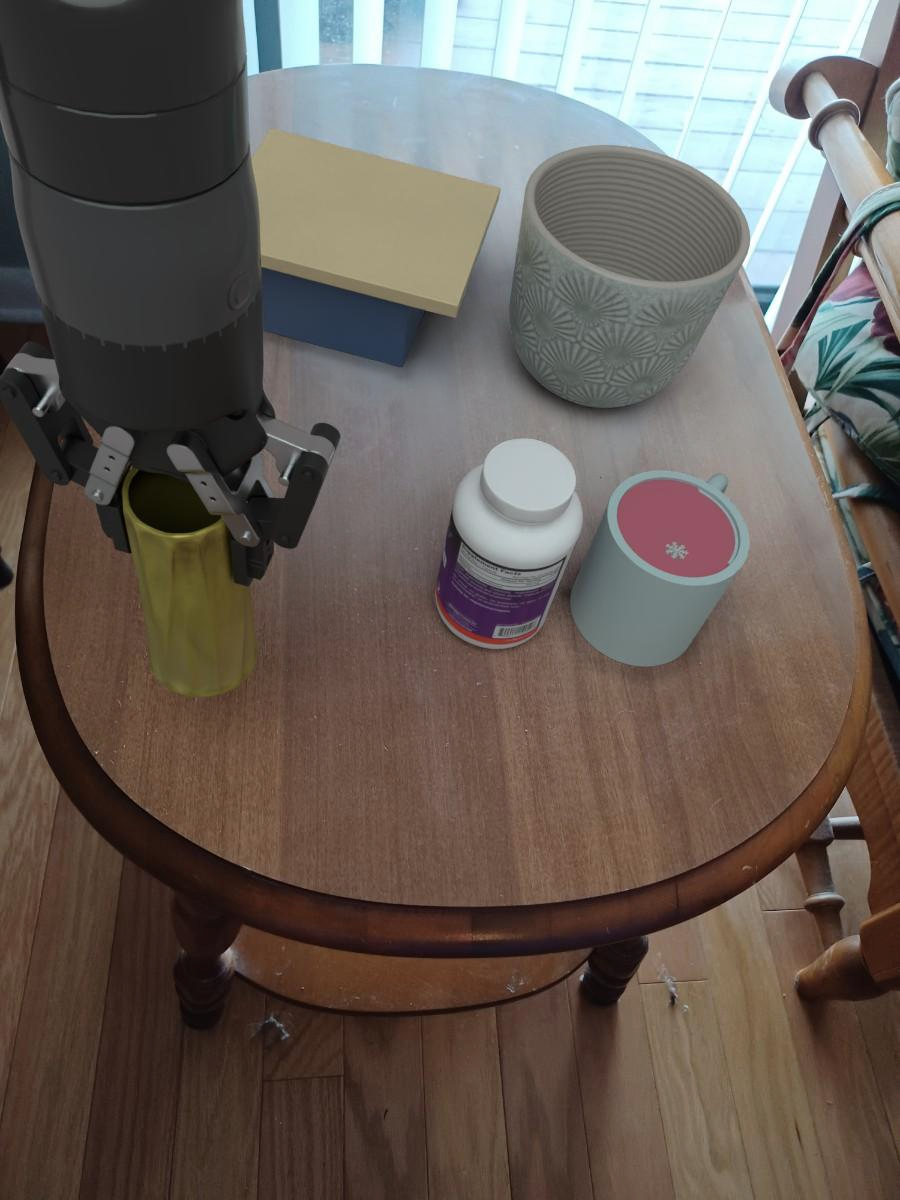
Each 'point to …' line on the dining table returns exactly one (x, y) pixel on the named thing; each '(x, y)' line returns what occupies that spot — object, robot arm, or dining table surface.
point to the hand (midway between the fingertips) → (190, 553)
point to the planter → (619, 271)
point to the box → (362, 244)
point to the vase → (187, 588)
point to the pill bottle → (508, 544)
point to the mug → (658, 566)
